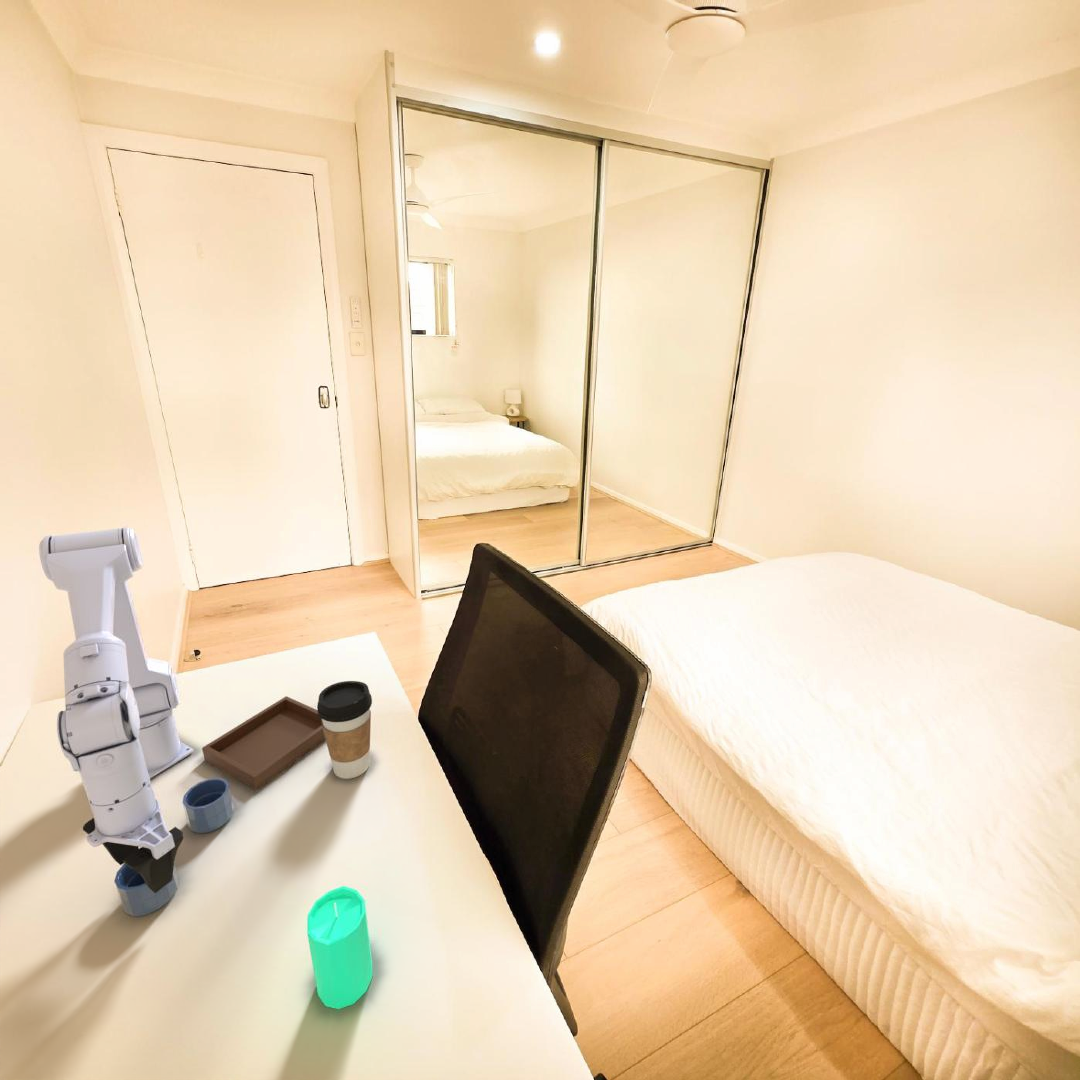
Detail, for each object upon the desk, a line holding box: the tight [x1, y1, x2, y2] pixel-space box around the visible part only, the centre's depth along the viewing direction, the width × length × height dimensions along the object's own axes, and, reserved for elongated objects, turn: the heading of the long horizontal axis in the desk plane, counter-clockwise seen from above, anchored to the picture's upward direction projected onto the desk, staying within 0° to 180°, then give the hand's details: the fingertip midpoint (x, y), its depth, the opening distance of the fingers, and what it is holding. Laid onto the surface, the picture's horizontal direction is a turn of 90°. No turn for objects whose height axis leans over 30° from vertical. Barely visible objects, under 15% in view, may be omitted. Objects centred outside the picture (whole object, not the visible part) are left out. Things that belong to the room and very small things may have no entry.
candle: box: [306, 885, 374, 1010], centre depth 58 cm, size 6×6×12 cm
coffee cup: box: [316, 680, 373, 780], centre depth 88 cm, size 8×8×15 cm
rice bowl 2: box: [181, 777, 235, 834], centre depth 79 cm, size 6×6×5 cm
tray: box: [201, 695, 326, 791], centre depth 94 cm, size 14×17×3 cm
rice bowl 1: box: [114, 863, 180, 917], centre depth 67 cm, size 6×6×5 cm
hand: (144, 871), depth 67 cm, fingers open, 7 cm apart
